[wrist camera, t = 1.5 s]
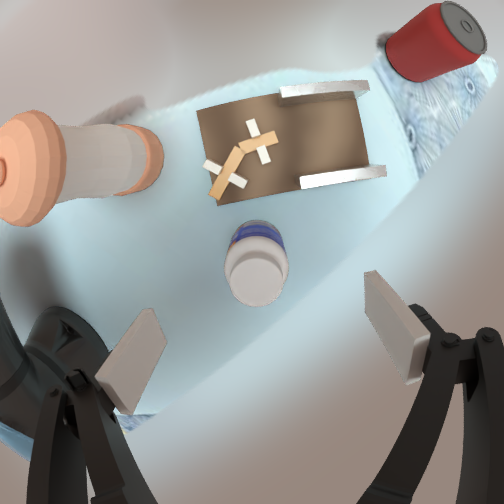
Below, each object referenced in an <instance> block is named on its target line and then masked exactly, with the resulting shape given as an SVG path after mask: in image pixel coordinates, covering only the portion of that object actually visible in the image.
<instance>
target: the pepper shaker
mask: <svg viewBox="0 0 504 504" xmlns="http://www.w3.org/2000/svg"><path fill="white" fill-rule="evenodd" d="M163 159H164V154H163V148H162V145H161V143H160V141H159V139H158V137H157V136H156V135H155V134H153V133H152V132H151V131H150V130H147V129H144V128H142V127H137V126H133V125H129V124H125V125H117V126H116V125H112V124H98V125H90V126H83V127H77V126H65V125H56V124H55V122H54V121H53V120H52V119H51V118H50V117H49V116H47V115H46V114H45V113H43V112H40V111H37V110H31V111H27V112H24V113H20V114H17V115H15V116H14V117H13V118H11V119H10V120H9V121H8V122H7V123H6V124H4V125H3V126H2V127H1V128H0V217H1V218H2V219H3V220H4V221H6V222H8V223H9V224H11V225H15V226H21V227H29V226H32V225H34V224H36V223H39V222H40V221H41V220H42V219H43V218H44V217H45V216H46V215H47V214H48V212H49V211H50V210H51V209H52V208H53V207H54V205H55V204H58V203H61V202H65V201H68V200H72V199H76V198H105V197H108V196H111V195H118V196H123V195H127V194H130V193H134V192H137V191H141V190H144V189H146V188H147V187H149V186H150V185H152V184H153V183H154V181H155V180H156V179H157V177H158V176H159V174H160V172H161V169H162V167H163Z"/></svg>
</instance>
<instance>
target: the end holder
mask: <svg viewBox="0 0 504 504" xmlns="http://www.w3.org/2000/svg"><path fill="white" fill-rule="evenodd" d="M368 91H370V88H369V84H368V81H367V80H351V81H331V82H318V83H308V84H299V85H291V86H284V87H280V89H279V93H278V97H277V99H278V103H279V107H283V106H290V105H297V104H305V103H313V102H323V101H334V100H348V99H357V98H358V97H360V96H361V95H363V94H365V93H366V92H368ZM385 176H387V172H386V165H373V164H367V165H359V166H351V167H344V168H337V169H330V170H323V171H317V172H310V173H304V174H298V175H294V177H295V182H296V185H297V186H298V187H300V188H301V189H304V188H310V187H316V186H322V185H329V184H335V183H341V182H348V181H355V180H362V179H369V178H377V177H385Z"/></svg>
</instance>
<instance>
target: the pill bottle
mask: <svg viewBox="0 0 504 504" xmlns="http://www.w3.org/2000/svg"><path fill="white" fill-rule="evenodd" d="M288 271H289V264H288V259H287V255H286V252H285V248H284V245H283V241H282V237H281V235H280V233H279V232H278V230H277V229H276V228H275V227H274V226H273V225H271V224H270V223H267V222H265V221H261V220H253V221H249V222H246V223H244V224H243V225H241V226H240V227H239V228H238V229H237V230H236V232H235V233H234V235H233V237H232V240H231V243H230V246H229V249H228V252H227V255H226V258H225V263H224V272H225V276H226V279H227V281H228V283H229V284H230V289H231V292H232V293H233V295H234V296H235V298H236V299H237V300H239V301H240V302H241V303H243V304H245V305H248V306H253V307H261V306H265V305H268V304H270V303H272V302H273V301H274V300H276V299H277V297H278V296H279V295H280V293H281V291H282V288H283V284H284V283H285V281H286V279H287V276H288Z"/></svg>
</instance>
